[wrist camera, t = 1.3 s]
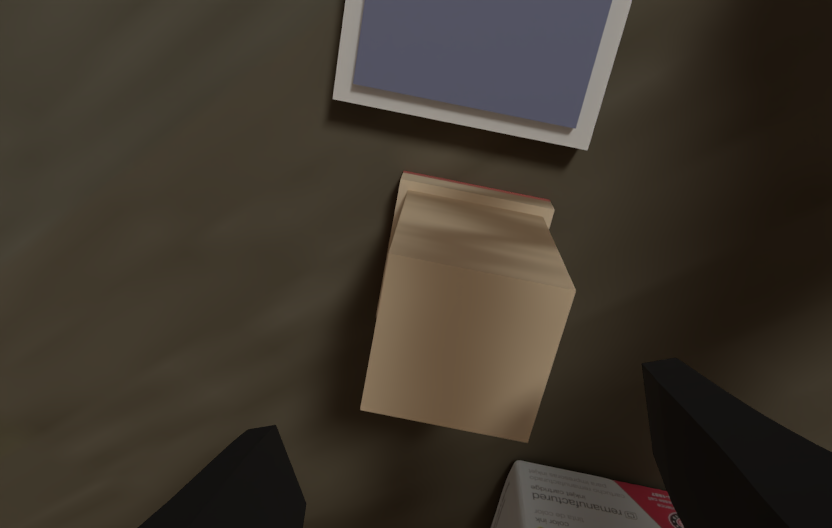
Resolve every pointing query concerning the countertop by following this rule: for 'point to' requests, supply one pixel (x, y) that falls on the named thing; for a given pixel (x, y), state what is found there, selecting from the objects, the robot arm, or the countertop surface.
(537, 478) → the ink box
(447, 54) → the ink pad
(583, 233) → the countertop surface
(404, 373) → the stamp
